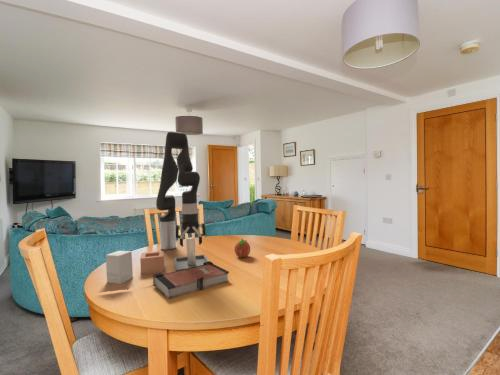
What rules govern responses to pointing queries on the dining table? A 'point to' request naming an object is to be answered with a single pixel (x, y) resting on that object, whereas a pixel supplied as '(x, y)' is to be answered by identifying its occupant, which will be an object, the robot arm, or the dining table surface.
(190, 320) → the dining table surface
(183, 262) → the tray
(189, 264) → the peg
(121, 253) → the supplement box
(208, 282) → the book
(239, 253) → the fruit
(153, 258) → the square hole frame
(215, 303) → the dining table surface
